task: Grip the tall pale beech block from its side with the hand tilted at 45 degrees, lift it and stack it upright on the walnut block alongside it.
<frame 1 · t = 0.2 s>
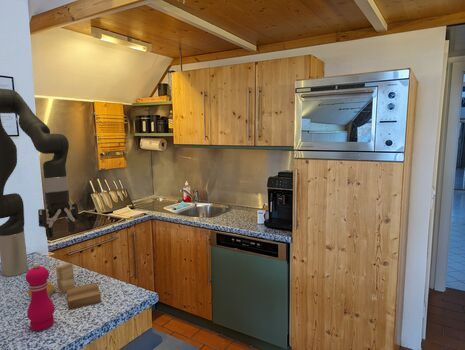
hand: (61, 234, 118), 22 cm above the counter, tool pointing down, fingers open, 8 cm apart
beech block: (66, 291, 122), on the counter
pepper mill: (42, 325, 101), on the counter
bread roll: (41, 294, 121), on the counter
walnut block: (83, 299, 116), on the counter
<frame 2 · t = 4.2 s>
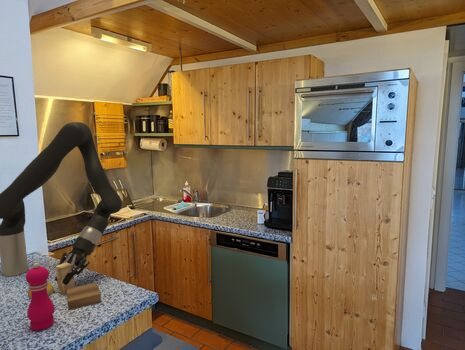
hand: (60, 282, 120), 4 cm above the counter, tool tilted 45°, fingers closed on beech block, 4 cm apart
beech block: (66, 291, 122), on the counter, touching gripper
everything else where it was.
when the fingers open (8 cm above the counter, at t = 8.4 s): beech block drops 1 cm, resting on walnut block.
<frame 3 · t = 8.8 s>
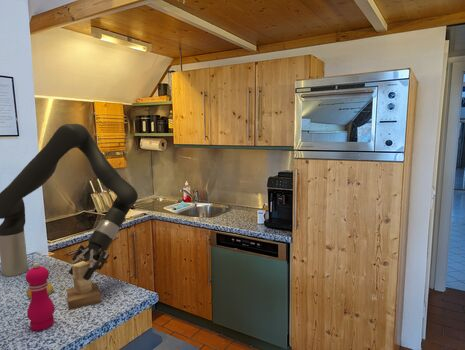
hand: (78, 276, 114), 9 cm above the counter, tool tilted 45°, fingers open, 7 cm apart
beech block: (83, 291, 116), point 3 cm above the counter, touching walnut block
everything else where it was.
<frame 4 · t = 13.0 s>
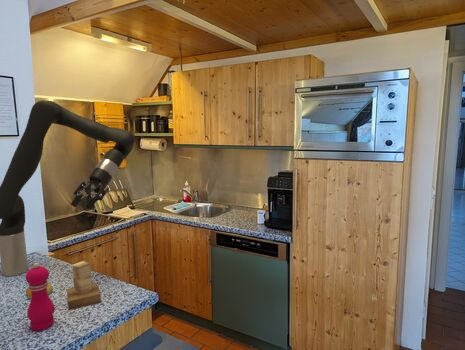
hand: (80, 207, 122), 31 cm above the counter, tool tilted 45°, fingers open, 8 cm apart
nothing on the counter moved.
at the end: beech block inside the target area on the walnut block (0.1 cm from its centre), point 3.0 cm above the walnut block's base; beech block tilted 0°; the gripper is holding nothing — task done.
